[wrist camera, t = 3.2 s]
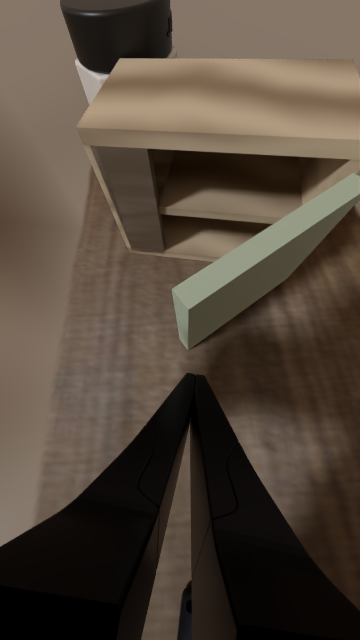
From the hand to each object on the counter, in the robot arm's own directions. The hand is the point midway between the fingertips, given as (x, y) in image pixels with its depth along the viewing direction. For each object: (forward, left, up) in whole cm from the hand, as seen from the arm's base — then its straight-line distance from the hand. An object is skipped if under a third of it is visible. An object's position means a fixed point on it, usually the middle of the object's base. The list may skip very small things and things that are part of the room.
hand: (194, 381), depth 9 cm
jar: (+25, +10, -7) cm, 28 cm away
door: (+7, -3, -6) cm, 10 cm away
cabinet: (+17, +1, -7) cm, 18 cm away
